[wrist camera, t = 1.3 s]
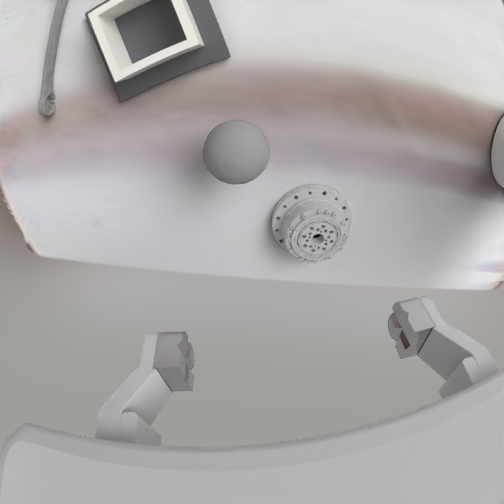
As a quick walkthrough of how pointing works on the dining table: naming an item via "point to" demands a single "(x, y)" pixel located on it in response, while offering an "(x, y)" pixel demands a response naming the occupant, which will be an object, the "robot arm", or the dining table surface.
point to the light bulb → (236, 152)
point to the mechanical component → (311, 222)
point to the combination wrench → (51, 60)
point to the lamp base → (154, 40)
